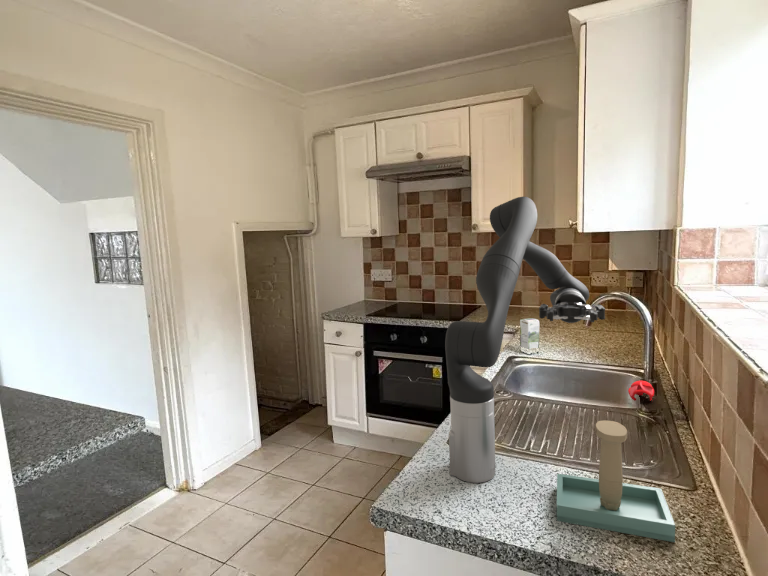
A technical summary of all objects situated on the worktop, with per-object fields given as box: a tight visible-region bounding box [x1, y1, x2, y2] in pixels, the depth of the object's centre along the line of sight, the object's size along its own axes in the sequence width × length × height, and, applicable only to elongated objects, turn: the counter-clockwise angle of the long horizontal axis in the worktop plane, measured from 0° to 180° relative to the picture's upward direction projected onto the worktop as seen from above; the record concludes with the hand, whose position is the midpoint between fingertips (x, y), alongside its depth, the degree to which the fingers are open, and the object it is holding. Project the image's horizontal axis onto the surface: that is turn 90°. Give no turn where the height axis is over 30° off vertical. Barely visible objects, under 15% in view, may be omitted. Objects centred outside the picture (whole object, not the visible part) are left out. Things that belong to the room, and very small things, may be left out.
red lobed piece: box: [628, 380, 655, 402], centre depth 131 cm, size 8×6×6 cm
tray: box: [556, 473, 676, 543], centre depth 80 cm, size 18×11×3 cm, turn 68°
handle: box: [595, 420, 628, 511], centre depth 80 cm, size 5×6×15 cm
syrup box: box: [519, 317, 540, 349], centre depth 187 cm, size 6×6×14 cm
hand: (571, 317), depth 99 cm, fingers open, 8 cm apart
